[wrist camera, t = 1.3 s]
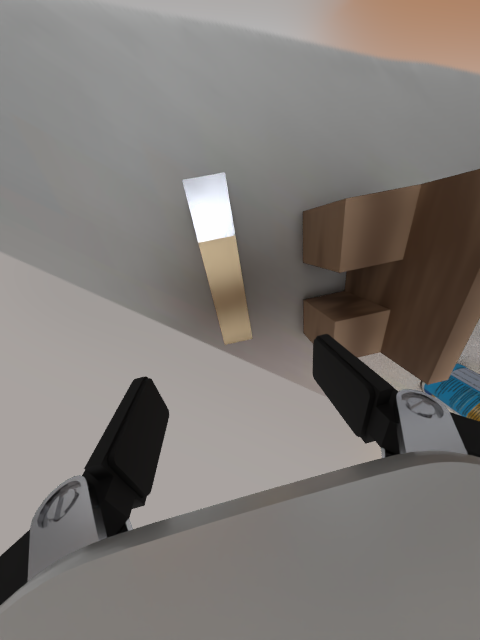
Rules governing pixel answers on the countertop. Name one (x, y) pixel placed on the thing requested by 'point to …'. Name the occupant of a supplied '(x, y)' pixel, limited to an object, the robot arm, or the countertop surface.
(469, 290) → the wooden two-prong bracket
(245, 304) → the silver and tan rail
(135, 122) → the countertop surface
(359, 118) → the countertop surface
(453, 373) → the beverage bottle
